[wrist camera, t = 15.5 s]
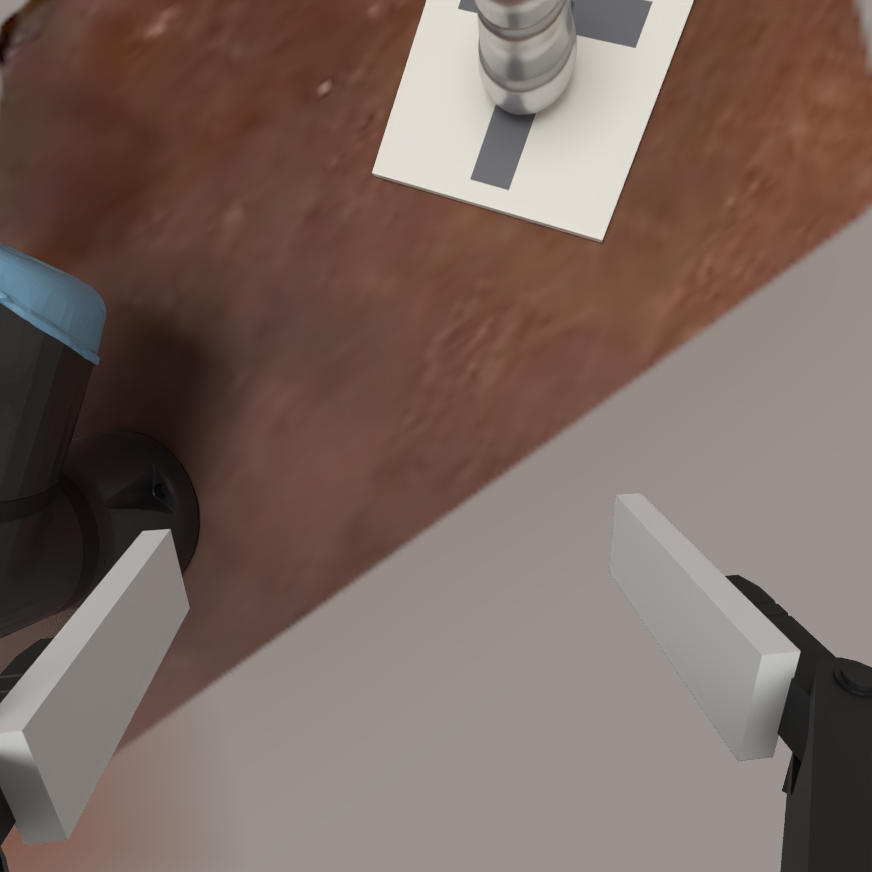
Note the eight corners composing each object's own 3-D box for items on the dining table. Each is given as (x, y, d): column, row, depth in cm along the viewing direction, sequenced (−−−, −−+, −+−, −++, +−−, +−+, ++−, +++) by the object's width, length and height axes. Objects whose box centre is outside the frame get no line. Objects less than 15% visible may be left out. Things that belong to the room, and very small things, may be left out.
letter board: (374, 176, 41) (371, 173, 40) (453, -71, 38) (451, -79, 38) (601, 242, 38) (602, 240, 37) (702, -24, 35) (705, -31, 35)
